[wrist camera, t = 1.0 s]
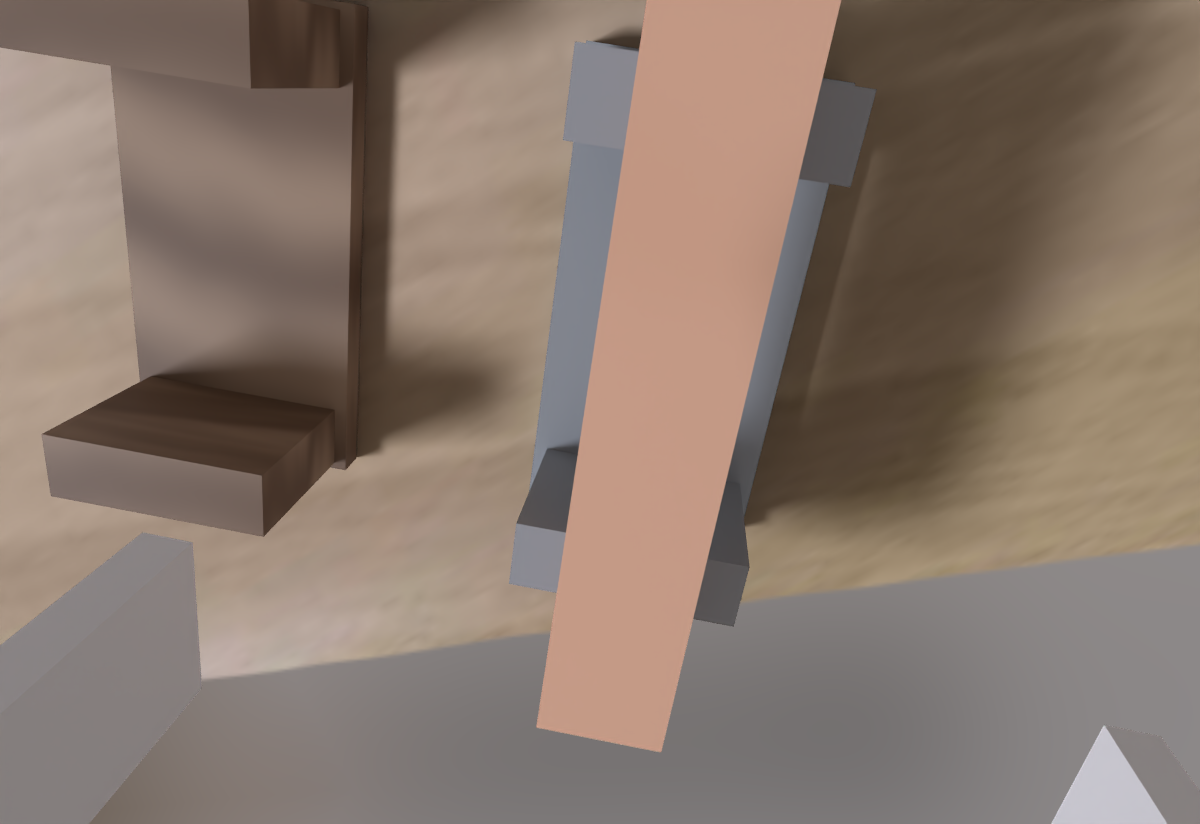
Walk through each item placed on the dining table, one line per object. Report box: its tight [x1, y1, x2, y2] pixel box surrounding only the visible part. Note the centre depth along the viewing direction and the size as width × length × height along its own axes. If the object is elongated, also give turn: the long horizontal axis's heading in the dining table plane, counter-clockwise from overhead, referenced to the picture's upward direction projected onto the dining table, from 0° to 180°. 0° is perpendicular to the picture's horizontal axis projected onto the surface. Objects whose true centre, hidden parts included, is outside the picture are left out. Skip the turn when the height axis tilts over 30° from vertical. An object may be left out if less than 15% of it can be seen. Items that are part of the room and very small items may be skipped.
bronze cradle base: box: [0, 0, 368, 537], centre depth 28 cm, size 18×9×7 cm, turn 172°
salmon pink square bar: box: [537, 0, 841, 752], centre depth 22 cm, size 22×4×4 cm, turn 172°
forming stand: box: [509, 41, 877, 626], centre depth 27 cm, size 18×9×7 cm, turn 172°
